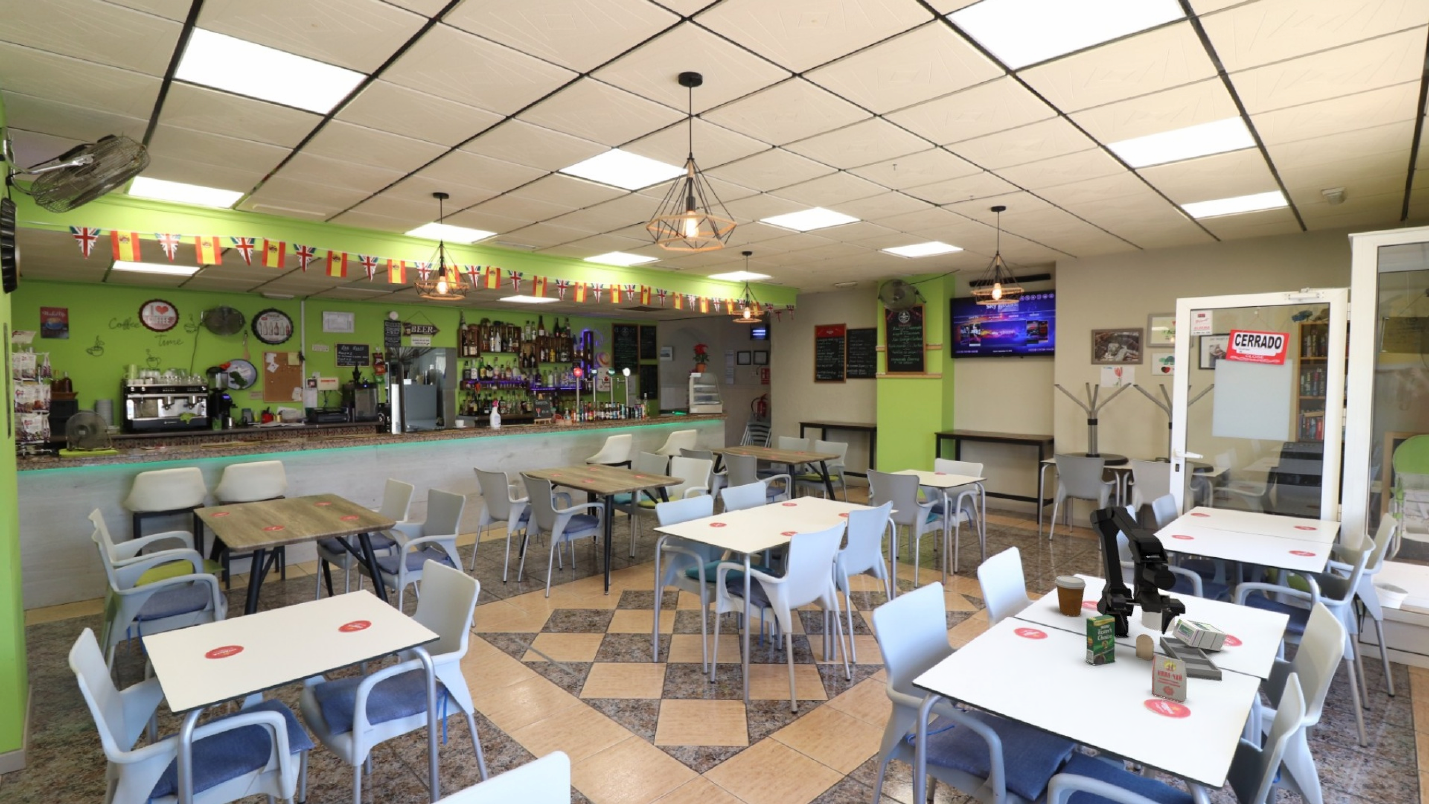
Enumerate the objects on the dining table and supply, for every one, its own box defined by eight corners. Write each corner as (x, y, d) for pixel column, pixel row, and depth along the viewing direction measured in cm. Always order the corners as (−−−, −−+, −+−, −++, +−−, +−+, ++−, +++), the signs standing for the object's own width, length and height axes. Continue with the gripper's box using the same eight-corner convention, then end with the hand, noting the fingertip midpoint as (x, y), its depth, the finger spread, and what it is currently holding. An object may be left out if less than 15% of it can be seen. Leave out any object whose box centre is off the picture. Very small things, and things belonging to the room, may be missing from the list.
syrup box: (1228, 634, 199) (1197, 627, 194) (1220, 652, 200) (1189, 646, 195) (1209, 624, 205) (1178, 617, 199) (1201, 641, 205) (1170, 635, 200)
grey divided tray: (1186, 676, 184) (1186, 667, 184) (1159, 644, 206) (1159, 636, 206) (1221, 680, 181) (1221, 671, 181) (1191, 647, 203) (1191, 639, 203)
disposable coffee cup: (1060, 617, 230) (1060, 582, 229) (1050, 608, 239) (1051, 574, 239) (1090, 618, 228) (1090, 583, 228) (1079, 609, 237) (1080, 575, 237)
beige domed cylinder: (1138, 659, 196) (1138, 636, 195) (1133, 653, 200) (1134, 631, 199) (1155, 660, 194) (1155, 638, 194) (1151, 654, 198) (1151, 632, 198)
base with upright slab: (1136, 620, 226) (1137, 585, 226) (1165, 621, 225) (1166, 586, 224) (1150, 630, 217) (1150, 593, 217) (1180, 632, 216) (1181, 594, 215)
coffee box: (1093, 666, 191) (1093, 620, 190) (1085, 662, 194) (1085, 617, 193) (1115, 662, 193) (1116, 617, 193) (1107, 658, 196) (1107, 614, 196)
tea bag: (1155, 689, 176) (1155, 652, 176) (1186, 698, 172) (1186, 659, 171) (1151, 694, 174) (1152, 656, 173) (1183, 703, 169) (1183, 663, 169)
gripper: (1115, 584, 192) (1115, 639, 192) (1192, 590, 186) (1191, 646, 186) (1106, 573, 202) (1106, 625, 203) (1179, 579, 196) (1178, 632, 197)
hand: (1144, 632), depth 197 cm, fingers open, 9 cm apart
